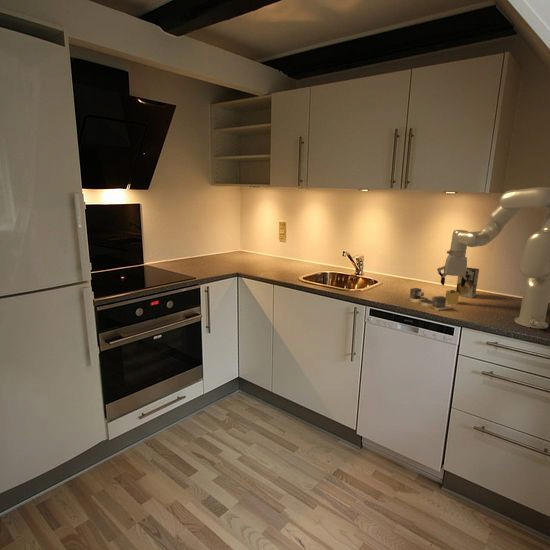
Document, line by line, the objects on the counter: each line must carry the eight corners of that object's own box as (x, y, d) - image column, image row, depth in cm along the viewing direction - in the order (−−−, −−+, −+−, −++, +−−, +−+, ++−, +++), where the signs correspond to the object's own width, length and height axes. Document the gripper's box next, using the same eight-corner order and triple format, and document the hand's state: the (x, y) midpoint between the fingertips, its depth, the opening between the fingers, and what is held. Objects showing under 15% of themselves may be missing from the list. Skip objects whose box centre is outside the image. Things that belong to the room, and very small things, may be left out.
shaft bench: (452, 307, 187) (453, 296, 185) (437, 310, 182) (439, 299, 180) (418, 297, 205) (420, 287, 203) (404, 299, 200) (406, 289, 198)
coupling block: (457, 304, 194) (459, 292, 192) (447, 303, 195) (449, 291, 193) (454, 301, 198) (456, 289, 197) (445, 301, 199) (446, 288, 198)
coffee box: (475, 296, 210) (479, 268, 207) (471, 298, 206) (476, 270, 203) (459, 293, 217) (462, 266, 213) (455, 294, 212) (458, 267, 209)
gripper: (441, 253, 189) (436, 285, 193) (477, 256, 186) (472, 288, 190) (438, 251, 196) (433, 282, 200) (473, 253, 193) (467, 285, 197)
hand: (452, 285), depth 195 cm, fingers open, 9 cm apart
